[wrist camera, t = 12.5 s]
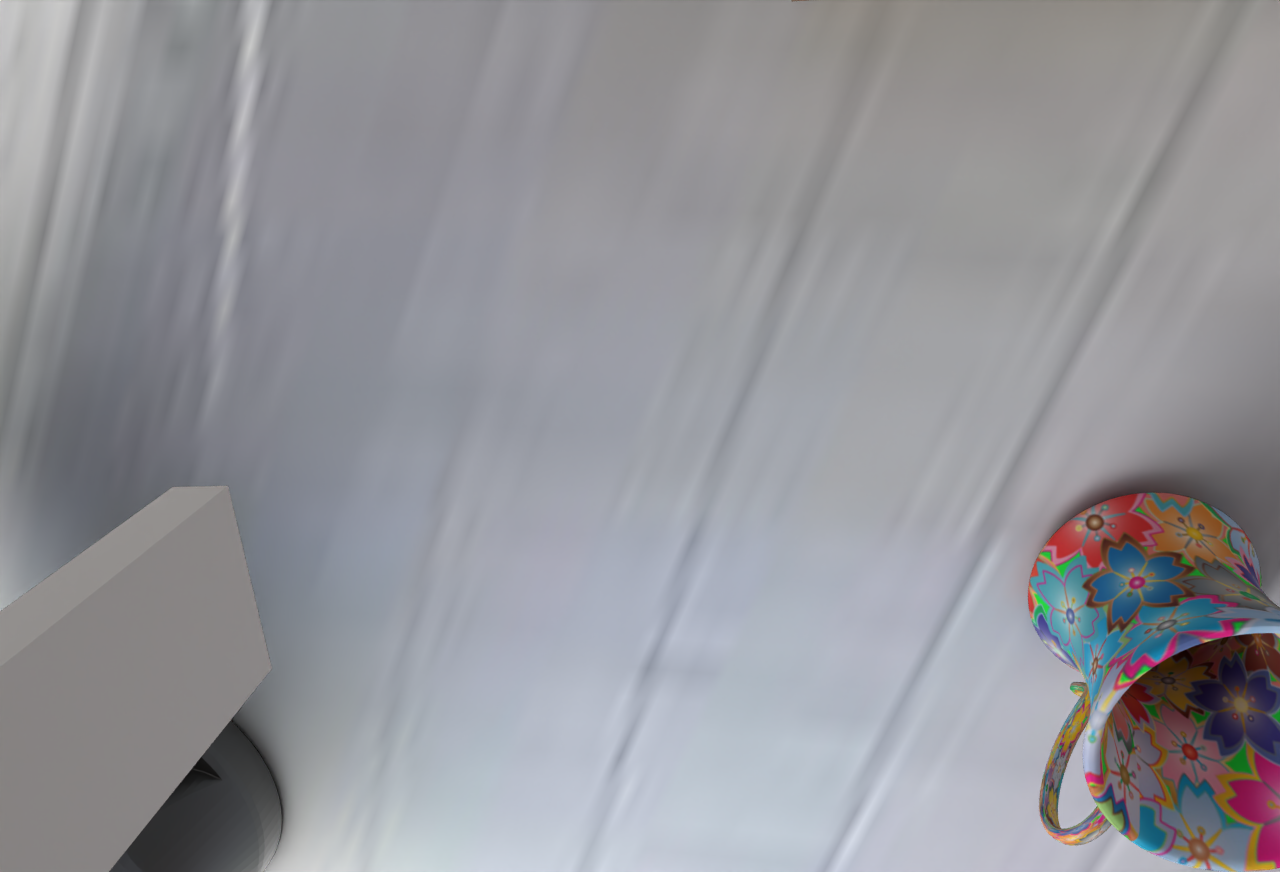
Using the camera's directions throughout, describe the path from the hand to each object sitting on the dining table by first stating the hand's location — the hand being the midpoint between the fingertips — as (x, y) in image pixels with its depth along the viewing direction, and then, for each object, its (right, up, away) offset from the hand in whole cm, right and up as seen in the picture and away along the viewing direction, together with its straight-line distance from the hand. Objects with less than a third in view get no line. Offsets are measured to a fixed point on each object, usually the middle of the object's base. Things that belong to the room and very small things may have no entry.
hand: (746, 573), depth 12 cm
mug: (+18, -5, +28) cm, 33 cm away
